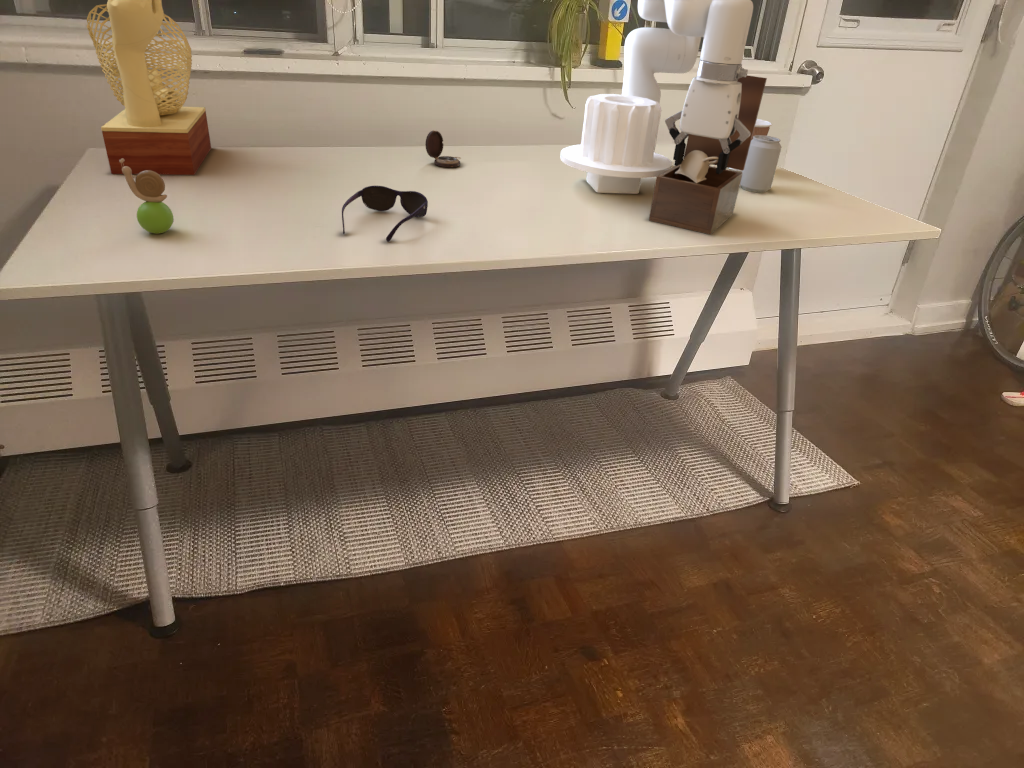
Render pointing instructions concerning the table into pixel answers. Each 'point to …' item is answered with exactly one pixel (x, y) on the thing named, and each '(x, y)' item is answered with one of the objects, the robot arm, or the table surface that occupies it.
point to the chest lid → (748, 117)
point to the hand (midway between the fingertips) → (698, 168)
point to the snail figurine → (150, 200)
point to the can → (761, 163)
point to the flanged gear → (618, 143)
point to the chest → (695, 199)
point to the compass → (439, 150)
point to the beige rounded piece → (696, 165)
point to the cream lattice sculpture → (148, 92)
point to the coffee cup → (759, 130)
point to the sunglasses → (391, 203)
